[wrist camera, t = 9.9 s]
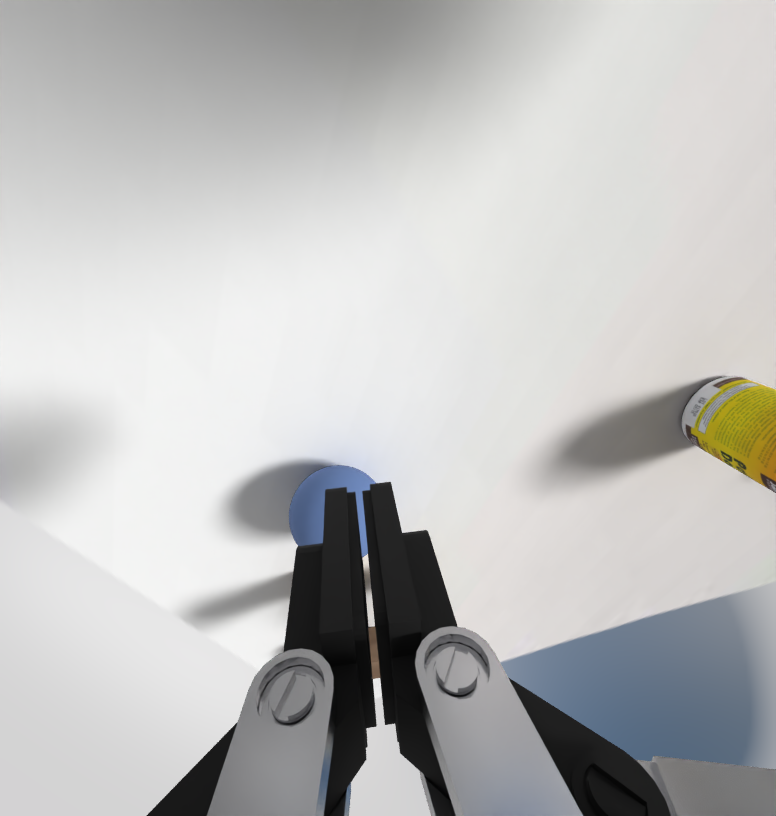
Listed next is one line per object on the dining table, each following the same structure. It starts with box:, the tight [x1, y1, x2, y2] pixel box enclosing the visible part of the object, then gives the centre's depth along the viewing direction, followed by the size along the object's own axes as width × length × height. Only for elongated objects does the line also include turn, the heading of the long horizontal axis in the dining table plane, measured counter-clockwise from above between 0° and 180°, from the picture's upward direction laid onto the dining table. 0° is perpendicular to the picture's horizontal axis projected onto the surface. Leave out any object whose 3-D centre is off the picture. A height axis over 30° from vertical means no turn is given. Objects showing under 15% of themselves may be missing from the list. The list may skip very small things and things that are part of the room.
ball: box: [289, 465, 376, 557], centre depth 25 cm, size 6×6×6 cm
